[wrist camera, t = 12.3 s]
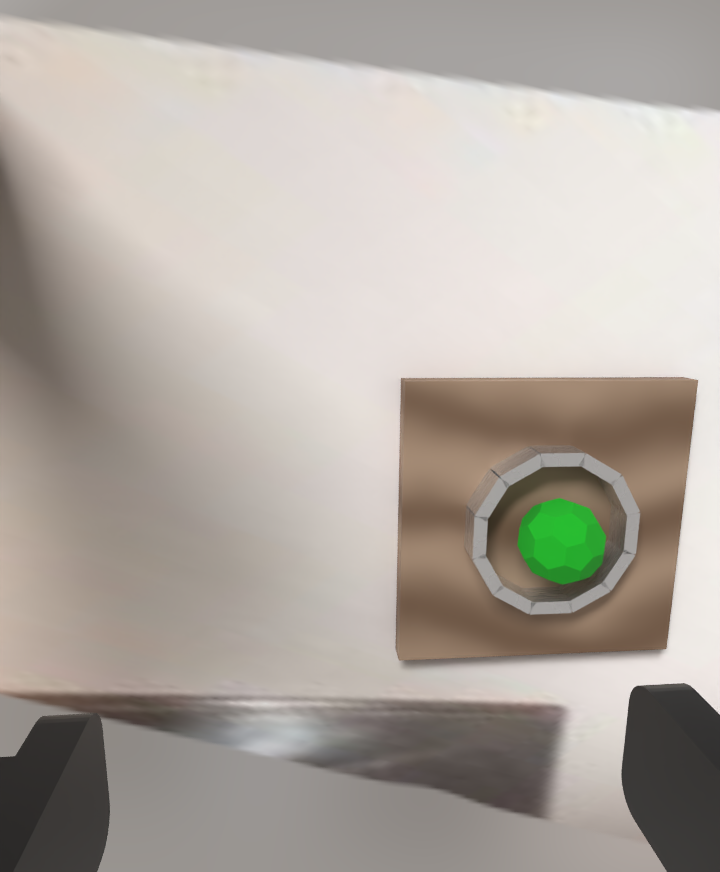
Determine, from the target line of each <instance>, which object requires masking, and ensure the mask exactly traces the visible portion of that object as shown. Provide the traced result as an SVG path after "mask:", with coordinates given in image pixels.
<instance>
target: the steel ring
mask: <svg viewBox="0 0 720 872" xmlns="http://www.w3.org/2000/svg"><path fill="white" fill-rule="evenodd" d="M571 466H581V467H583V468H585V469H586V470H588V471H590V472H591V473H593V474H595V475H596V476H597V477H598V479H599V481H600V483H601V485H602V487H603V489H604V492H605V494H606V496H607V498H608V500H609V502H610V504H611V515H610V525H609V536H608V541H607V542H606V544H605V549H604V556H603V561H602V565H601V566H600V567H599V568H598V569H597V570H596V571H595V572H594V573H593V575H592V576H591V577H588V578H586V579H583V580H580V581H576V582H572V583H568V584H563V585H562V584H561V585H559V586H558V587H534V588H522V587H520V586H518V585H516V584H514V583H513V582H511V581H509V580H507V579H505V578H503V577H501V576H499V575H498V574H496V573H495V571H494V569H493V567H492V566H491V564H490V562H489V560H488V559H487V557H486V545H487V525H488V518H489V517H490V515H491V513H492V512H493V510H494V509H495V507H496V506H497V504H498V502H499V501H500V499H501V498H502V496H503V495H504V493H505V491H506V490H507V488H508V487H509V486H510V485H512V484H514V483H516V482H517V481H519V480H521V479H523V478H524V477H526V476H528V475H530V474H531V473H533V472H535V471H537V470H538V469H540V468H542V467H571ZM490 468H491V470H490V469H489V470H488V471H487V473H486V474H485V476H484V477H483V479H482V481H481V482H480V484H479V485H478V487H477V489H476V490H475V492H474V493H473V495H472V497H471V498H470V500H469V501H468V503H467V504H466V505H467V506H466V517H465V540H464V546H465V549H466V551H467V553H468V554H469V556H470V558H471V560H472V561H473V563H474V565H475V567H476V568H477V570H478V572H479V574H480V575H481V577H482V579H483V581H484V582H485V584H486V585H487V587H488V588H489V590H490V592H491V593H492V595H493V596H495V597H497V598H499V599H501V600H503V601H504V602H506V603H508V604H510V605H512V606H514V607H516V608H518V609H520V610H522V611H523V612H525V613H527V614H530V615H533V614H560V613H571V612H575V611H577V610H579V609H580V608H582V607H584V606H586V605H588V604H589V603H591V602H593V601H595V600H596V599H598V598H600V597H602V596H604V595H605V594H607V593H609V592H610V590H611V591H612V589H613V588H614V586H615V585H616V583H617V582H618V580H619V579H620V577H621V576H622V574H623V573H624V572H625V570H626V569H627V567H628V566H629V564H630V563H631V561H632V560H633V558H634V557H635V555H634V554H636V549H637V539H638V530H639V520H640V513H639V512H640V511H639V508H638V506H637V504H636V502H635V500H634V498H633V496H632V494H631V492H630V490H629V488H628V486H627V484H626V482H625V479H624V477H623V475H621V474H620V473H618V472H617V471H615V470H613V469H612V468H610V467H608V466H607V465H605V464H603V463H602V462H600V461H598V460H597V459H595V458H593V457H592V456H590V455H588V454H587V453H585V452H583V451H581V450H579V449H577V448H576V447H574V446H571V445H551V446H529V447H528V446H527V447H525V448H524V449H522V450H520V451H518V452H517V453H515V454H513V455H511V456H510V457H508V458H506V459H504V460H503V461H501V462H499V463H497V464H496V465H494V466H492V467H490Z"/></svg>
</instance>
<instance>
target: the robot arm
mask: <svg viewBox="0 0 720 872" xmlns="http://www.w3.org/2000/svg"><path fill="white" fill-rule="evenodd" d="M622 785H623V791H624V795H625V799H626V802H627V805H628V808H629V810H630V812H631V815H632V817H633V818H634V820H635V822H636V823H637V825H638V826H639V828H640V830H641V831H642V833H643V834H644V836H645V837H646V839H647V841H648V842H649V844H650V845H651V847H652V848H653V850H654V851H655V853H656V855H657V856H658V858H659V860H660V861H661V863H662V864H663V866H664V867H665V869H666V870H667V872H720V715H719V714H718V713H717V712H716V711H715V710H714V709H713V708H712V707H711V706H710V705H709V704H708V703H707V702H706V701H705V700H704V699H703V698H702V697H701V696H700V695H699V694H698V693H697V692H696V691H695V690H694V689H693V688H692V687H691V686H689V685H688V684H684V683H682V684H663V685H644V686H636V687H635V688H634V689H633V690H632V692H631V695H630V699H629V707H628V716H627V725H626V735H625V744H624V753H623V763H622ZM109 816H110V803H109V791H108V781H107V771H106V760H105V750H104V740H103V730H102V723H101V719H100V716H99V715H98V714H97V713H92V714H73V715H55V716H42V717H41V718H40V719H39V720H38V721H37V722H36V724H35V725H34V727H33V728H32V730H31V731H30V733H29V735H28V736H27V738H26V740H25V741H24V743H23V744H22V746H21V748H20V749H19V751H18V753H17V754H16V756H13V757H0V872H97V870H98V868H99V865H100V862H101V859H102V856H103V853H104V849H105V845H106V840H107V835H108V827H109Z"/></svg>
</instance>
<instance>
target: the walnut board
mask: <svg viewBox="0 0 720 872" xmlns="http://www.w3.org/2000/svg"><path fill="white" fill-rule="evenodd" d="M697 385H698V380H694V379H689V378H685V377H640V378H401V410H400V459H399V508H398V557H397V606H396V651H397V655H398V659H399V660H421V659H445V658H468V657H491V656H515V655H538V654H561V653H585V652H608V651H632V650H655V649H666V647H667V639H668V630H669V622H670V613H671V605H672V596H673V588H674V579H675V571H676V562H677V554H678V545H679V537H680V529H681V520H682V512H683V503H684V495H685V486H686V478H687V469H688V461H689V452H690V444H691V435H692V427H693V419H694V410H695V402H696V393H697ZM551 445H571V446H574V447H576V448H577V449H579V450H581V451H583V452H585V453H587V454H588V455H590V456H592V457H593V458H595V459H597V460H598V461H600V462H602V463H603V464H605V465H607V466H608V467H610V468H612V469H613V470H615V471H617V472H618V473H620V474H621V475H623V477H624V479H625V482H626V484H627V486H628V488H629V490H630V492H631V494H632V496H633V498H634V500H635V502H636V504H637V506H638V508H639V511H640V512H639V513H640V520H639V530H638V539H637V549H636V554H634V555H635V557H634V558H633V560H632V561H631V563H630V564H629V566H628V567H627V569H626V570H625V572H624V573H623V574H622V576H621V577H620V579H619V580H618V582H617V583H616V585H615V586H614V588H613V589H612V591H611V590H610V592H609V593H607V594H605V595H604V596H602V597H600V598H598V599H596V600H595V601H593V602H591V603H589V604H588V605H586V606H584V607H582V608H580V609H579V610H577V611H575V612H571V613H560V614H533V615H530V614H527V613H525V612H523V611H522V610H520V609H518V608H516V607H514V606H512V605H510V604H508V603H506V602H504V601H503V600H501V599H499V598H497V597H495V596H493V595H492V593H491V592H490V590H489V588H488V587H487V585H486V584H485V582H484V581H483V579H482V577H481V575H480V574H479V572H478V570H477V568H476V567H475V565H474V563H473V561H472V560H471V558H470V556H469V554H468V553H467V551H466V549H465V546H464V540H465V517H466V506H467V505H466V504H467V503H468V501H469V500H470V498H471V497H472V495H473V493H474V492H475V490H476V489H477V487H478V485H479V484H480V482H481V481H482V479H483V477H484V476H485V474H486V473H487V471H488V470H489V469H490V470H491V468H490V467H492V466H494V465H496V464H497V463H499V462H501V461H503V460H504V459H506V458H508V457H510V456H511V455H513V454H515V453H517V452H518V451H520V450H522V449H524V448H525V447H527V446H528V447H529V446H551ZM557 498H561V499H564V500H567V501H570V502H573V503H576V504H579V505H582V506H584V507H587V508H590V510H591V511H592V513H593V515H594V516H595V518H596V520H597V521H598V523H599V525H600V526H601V528H602V530H603V532H604V533H605V535H606V541H605V544H606V542H607V541H608V536H609V525H610V515H611V504H610V502H609V500H608V498H607V496H606V494H605V492H604V489H603V487H602V485H601V483H600V481H599V479H598V477H597V476H596V475H595V474H593V473H591V472H590V471H588V470H586V469H585V468H583V467H581V466H571V467H542V468H540V469H538V470H537V471H535V472H533V473H531V474H530V475H528V476H526V477H524V478H523V479H521V480H519V481H517V482H516V483H514V484H512V485H510V486H509V487H508V488H507V490H506V491H505V493H504V495H503V496H502V498H501V499H500V501H499V502H498V504H497V506H496V507H495V509H494V510H493V512H492V513H491V515H490V517H489V518H488V525H487V545H486V557H487V559H488V560H489V562H490V564H491V566H492V567H493V569H494V571H495V573H496V574H498V575H499V576H501V577H503V578H505V579H507V580H509V581H511V582H513V583H514V584H516V585H518V586H520V587H522V588H534V587H558V586H559V585H561V584H559V583H556V582H553V581H550V580H547V579H545V578H543V577H541V576H538V575H536V574H534V573H532V571H531V570H530V568H529V566H528V565H527V563H526V562H525V560H524V558H523V556H522V554H521V552H520V550H519V548H518V546H517V545H518V536H519V528H520V525H521V521H522V518H523V517H524V516H525V515H526V514H527V513H528V512H529V510H530V509H531V508H532V507H533V506H535V505H538V504H540V503H543V502H546V501H550V500H554V499H557Z"/></svg>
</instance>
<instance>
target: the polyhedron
mask: <svg viewBox="0 0 720 872" xmlns="http://www.w3.org/2000/svg"><path fill="white" fill-rule="evenodd" d="M605 541H606V535H605V533H604V532H603V530H602V528H601V526H600V525H599V523H598V521H597V520H596V518H595V516H594V515H593V513H592V511H591V510H590V508H587V507H584V506H582V505H579V504H576V503H573V502H570V501H567V500H564V499H561V498H557V499H554V500H550V501H546V502H543V503H540V504H538V505H535V506H533V507H532V508H531V509H530V510H529V512H528V513H527V514H526V515H525V516H524V517H523V518H522V521H521V525H520V528H519V536H518V545H517V546H518V548H519V550H520V552H521V554H522V556H523V558H524V560H525V562H526V563H527V565H528V566H529V568H530V570H531V571H532V573H534V574H536V575H538V576H541V577H543V578H545V579H547V580H550V581H553V582H556V583H559V584H562V585H563V584H568V583H572V582H576V581H580V580H583V579H586V578H588V577H591V576H592V575H593V573H594V572H595V571H596V570H597V569H598V568H599V567H600V566H601V565H602V561H603V556H604V549H605Z"/></svg>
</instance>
